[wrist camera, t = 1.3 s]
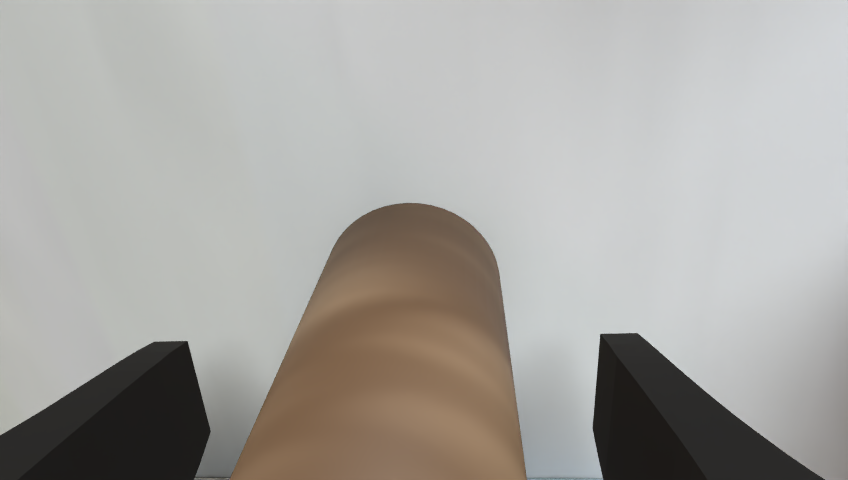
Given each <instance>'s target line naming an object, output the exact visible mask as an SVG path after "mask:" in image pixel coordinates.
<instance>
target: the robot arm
mask: <svg viewBox="0 0 848 480" xmlns="http://www.w3.org/2000/svg"><path fill="white" fill-rule="evenodd" d="M210 432H211V431H210V427H209V423H208V419H207V416H206V412H205V408H204V404H203V400H202V396H201V392H200V388H199V384H198V380H197V377H196V373H195V369H194V365H193V361H192V357H191V353H190V349H189V345H188V341H171V342H153V343H151V344H149V345H147V346H145V347H143V348H142V349H140V350H138V351H136V352H135V353H133V354H131V355H130V356H128V357H126V358H125V359H123V360H121V361H120V362H118V363H116V364H115V365H113V366H112V367H110V368H109V369H107V370H105V371H104V372H102V373H101V374H99V375H98V376H96V377H94V378H93V379H91V380H90V381H88V382H87V383H85V384H83V385H82V386H80V387H79V388H77V389H76V390H74V391H72V392H71V393H69V394H68V395H66V396H65V397H63V398H61V399H60V400H58V401H57V402H55V403H53V404H52V405H50V406H49V407H47V408H46V409H44V410H42V411H41V412H39V413H38V414H36V415H34V416H32V417H31V418H29V419H27V420H26V421H24V422H22V423H21V424H19V425H17V426H16V427H14V428H12V429H11V430H9V431H7V432H6V433H4V434H2V435H0V480H194V478H195V475H196V473H197V470H198V467H199V465H200V462H201V459H202V456H203V453H204V450H205V447H206V444H207V441H208V438H209V435H210ZM593 433H594V438H595V442H596V447H597V452H598V457H599V462H600V466H601V471H602V475H603V480H825V479H823V478H822V477H820V476H818V475H817V474H815V473H814V472H812V471H811V470H809V469H808V468H806V467H805V466H803V465H802V464H800V463H799V462H797V461H796V460H795V459H793V458H792V457H790V456H789V455H787V454H786V453H785V452H783V451H782V450H780V449H779V448H778V447H776V446H775V445H774V444H772V443H771V442H770V441H768V440H767V439H765V438H764V437H763V436H761V435H760V434H759V433H757V432H756V431H755V430H753V429H752V428H750V427H749V426H748V425H747V424H745V423H744V422H743V421H741V420H740V419H739V418H738V417H736V416H735V415H734V414H732V413H731V412H730V411H729V410H727V409H726V408H725V407H724V406H722V405H721V404H720V403H719V402H717V401H716V400H715V399H714V398H713V397H711V396H710V395H709V394H708V393H706V392H705V391H704V390H703V389H702V388H700V387H699V386H698V385H697V384H696V383H695V382H693V381H692V380H691V379H690V378H689V377H687V376H686V375H685V374H684V373H683V372H682V371H681V370H679V369H678V368H677V367H676V366H675V365H674V364H672V363H671V362H670V361H669V360H668V359H667V358H666V357H664V356H663V355H662V354H661V353H660V352H659V351H658V350H656V349H655V348H654V347H653V346H652V345H651V344H650V343H648V342H647V341H646V340H645V339H644V338H642V337H641V336H640V335H639V334H638V333H626V334H600V346H599V358H598V370H597V383H596V395H595V407H594V419H593Z"/></svg>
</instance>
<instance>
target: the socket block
mask: <svg viewBox="0 0 848 480" xmlns="http://www.w3.org/2000/svg"><path fill="white" fill-rule="evenodd" d="M194 480H230V478H194ZM527 480H603V479H527Z"/></svg>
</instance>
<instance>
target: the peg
mask: <svg viewBox="0 0 848 480" xmlns="http://www.w3.org/2000/svg"><path fill="white" fill-rule="evenodd" d="M230 480H527V478H526V470H525V463H524V455H523V448H522V440H521V433H520V425H519V418H518V411H517V403H516V396H515V388H514V381H513V373H512V366H511V358H510V351H509V343H508V336H507V328H506V321H505V313H504V306H503V298H502V291H501V284H500V276H499V270H498V266H497V262H496V259H495V256H494V254H493V252H492V250H491V248H490V246H489V244H488V243H487V241H486V240H485V239H484V237H483V236H482V235H481V234H480V233H479V232H478V231H477V230H476V229H475V228H474V227H473V226H472V225H471V224H469V223H468V222H467V221H466V220H464V219H463V218H461V217H459V216H458V215H456V214H454V213H452V212H450V211H447V210H445V209H442V208H439V207H435V206H432V205H426V204H419V203H403V204H394V205H389V206H385V207H382V208H379V209H376V210H373V211H371V212H369V213H367V214H365V215H363V216H362V217H360V218H359V219H357V220H356V221H355V222H353V223H352V224H351V225H350V226H349V227H348V228H347V229H346V230H345V231H344V232H343V233H342V235H341V236H340V237H339V239H338V240H337V242H336V244H335V245H334V247H333V249H332V252H331V254H330V256H329V258H328V261H327V263H326V265H325V267H324V269H323V272H322V274H321V276H320V278H319V281H318V283H317V285H316V287H315V290H314V292H313V294H312V296H311V299H310V301H309V303H308V305H307V308H306V310H305V312H304V314H303V316H302V319H301V321H300V323H299V325H298V328H297V330H296V332H295V334H294V337H293V339H292V341H291V343H290V346H289V348H288V350H287V352H286V354H285V357H284V359H283V361H282V363H281V366H280V368H279V370H278V372H277V375H276V377H275V379H274V381H273V384H272V386H271V388H270V390H269V392H268V395H267V397H266V399H265V401H264V404H263V406H262V408H261V410H260V413H259V415H258V417H257V419H256V422H255V424H254V426H253V428H252V431H251V433H250V435H249V437H248V439H247V442H246V444H245V446H244V448H243V451H242V453H241V455H240V457H239V460H238V462H237V464H236V466H235V469H234V471H233V473H232V475H231V477H230Z"/></svg>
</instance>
